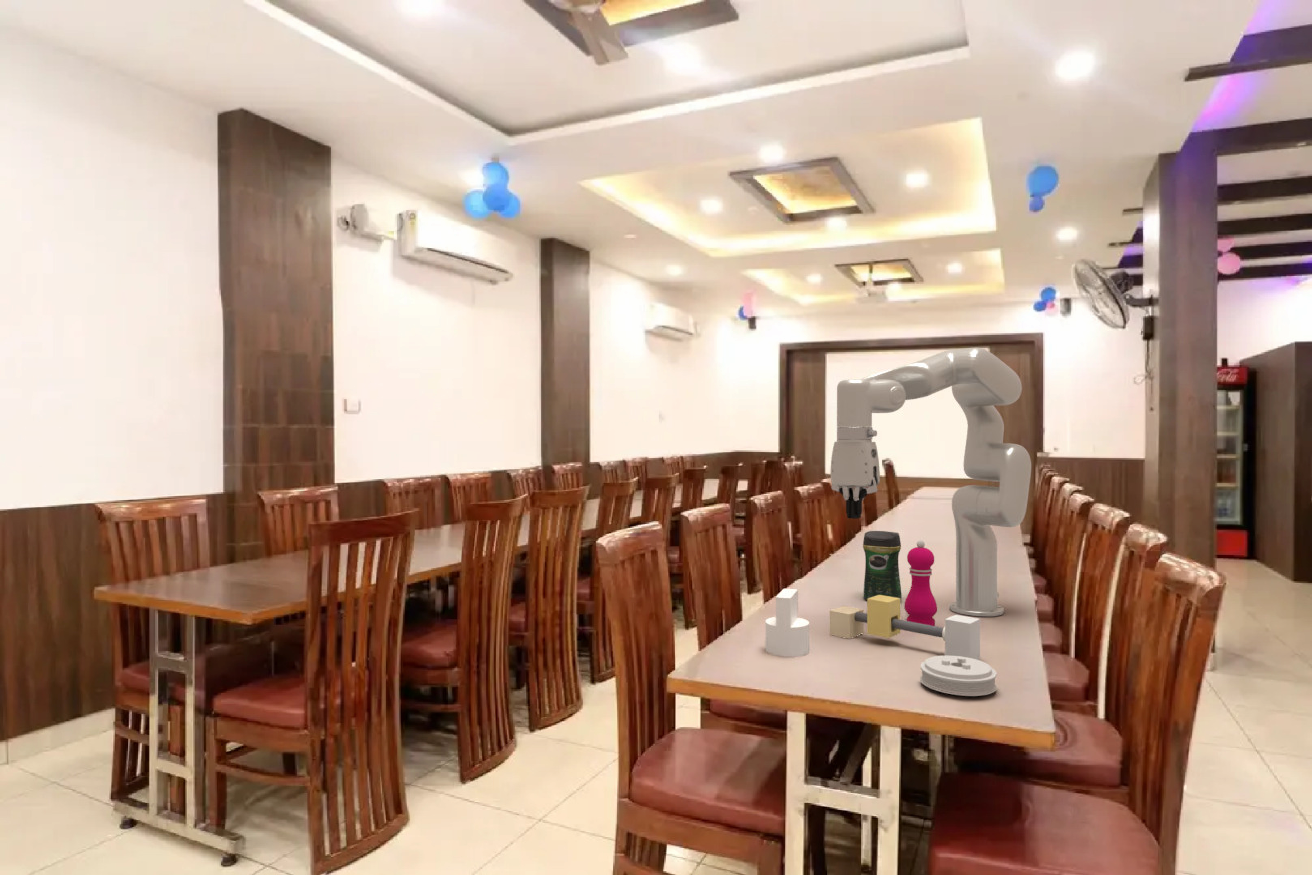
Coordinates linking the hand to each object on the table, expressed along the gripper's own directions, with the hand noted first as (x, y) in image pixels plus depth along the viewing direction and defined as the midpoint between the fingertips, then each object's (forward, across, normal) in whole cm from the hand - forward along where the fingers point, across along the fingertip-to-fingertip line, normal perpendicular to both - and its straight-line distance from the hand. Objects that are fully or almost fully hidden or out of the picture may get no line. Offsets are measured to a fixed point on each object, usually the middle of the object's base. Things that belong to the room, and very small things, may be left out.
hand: (853, 517), depth 168 cm
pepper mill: (+26, -7, -18) cm, 33 cm away
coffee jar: (+26, +12, -36) cm, 46 cm away
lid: (+27, -30, +17) cm, 44 cm away
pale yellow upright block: (+25, -7, 0) cm, 26 cm away
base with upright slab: (+27, +5, +19) cm, 33 cm away
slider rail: (+26, -11, 0) cm, 29 cm away
